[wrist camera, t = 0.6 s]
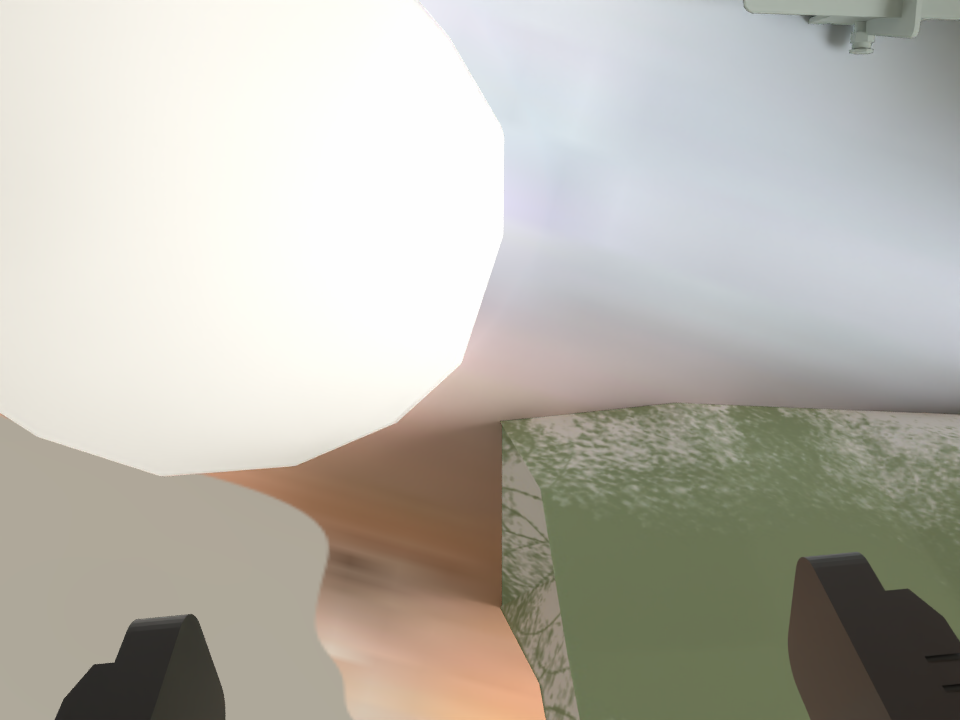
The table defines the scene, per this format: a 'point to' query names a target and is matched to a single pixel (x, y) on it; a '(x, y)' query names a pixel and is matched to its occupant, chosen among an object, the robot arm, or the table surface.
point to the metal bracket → (864, 15)
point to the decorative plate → (236, 224)
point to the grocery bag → (708, 545)
